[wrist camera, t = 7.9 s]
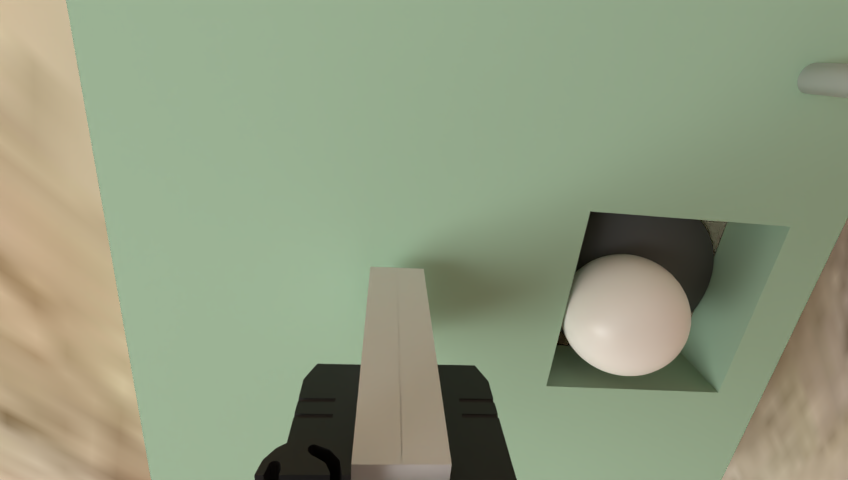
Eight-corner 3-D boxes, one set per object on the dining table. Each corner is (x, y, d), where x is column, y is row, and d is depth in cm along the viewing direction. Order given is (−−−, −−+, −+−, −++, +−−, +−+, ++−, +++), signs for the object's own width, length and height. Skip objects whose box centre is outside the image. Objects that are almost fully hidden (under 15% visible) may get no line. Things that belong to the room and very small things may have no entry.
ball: (558, 231, 16) (597, 289, 13) (668, 238, 16) (739, 297, 13) (538, 325, 18) (568, 400, 14) (639, 331, 18) (694, 406, 14)
